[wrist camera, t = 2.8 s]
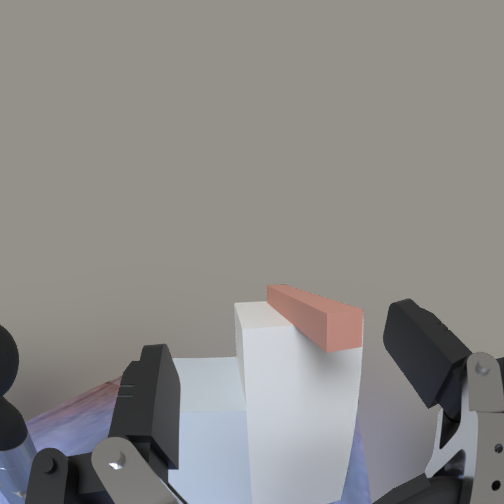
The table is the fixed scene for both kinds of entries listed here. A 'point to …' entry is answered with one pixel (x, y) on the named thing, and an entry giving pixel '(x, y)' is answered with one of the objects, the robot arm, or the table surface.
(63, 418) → the table surface
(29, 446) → the robot arm
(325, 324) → the rod
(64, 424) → the table surface
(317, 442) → the riser
